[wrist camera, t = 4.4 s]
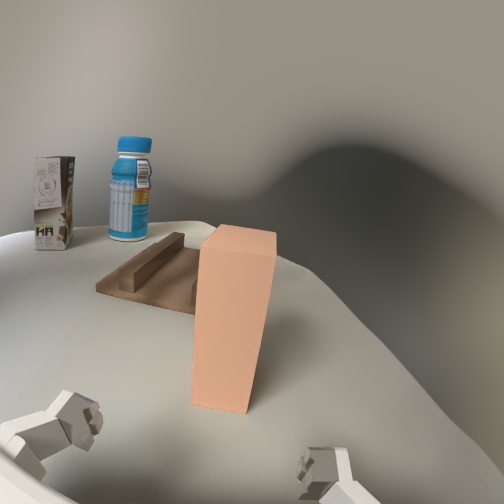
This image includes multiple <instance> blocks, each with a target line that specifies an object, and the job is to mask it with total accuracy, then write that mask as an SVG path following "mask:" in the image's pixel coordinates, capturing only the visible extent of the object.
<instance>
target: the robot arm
mask: <svg viewBox="0 0 504 504" xmlns="http://www.w3.org/2000/svg"><path fill="white" fill-rule="evenodd" d="M99 408H100V407H99V404H98V402H96V401H94V400H91V399H89V398H87V397H85V396H82V395H80V394H78V393H76V392H74V391H72V390H70V389H67V388H66V389H64V390H63V391H62V392H61V393H60V395H59V396H58V397H57V398H56V399H55V401H54V402H53V403H52V404H51V405H50V407H49V408H48V409H47V410H46V411H44V410H42V411H39V412H36V413H33V414H30V415H27V416H23V417H20V418H17V419H14V420H10V421H7V422H3V423H2V424H1V425H0V504H79V503H77V502H75V501H73V500H71V499H70V498H68V497H66V496H64V495H62V494H61V493H59V492H57V491H56V490H54V489H52V488H51V487H49V486H47V485H46V484H44V483H43V482H41V481H42V479H43V477H44V476H45V474H46V469H45V467H44V466H43V465H42V464H41V462H40V461H41V460H43V459H45V458H47V457H49V456H51V455H53V454H55V453H57V452H59V451H61V450H63V449H65V448H67V447H68V446H70V445H71V444H72V445H74V446H76V447H79V448H81V449H83V450H85V451H87V452H88V451H89V449H90V447H91V446H92V444H93V442H94V437H93V436H94V435H97V434H99V432H100V430H101V429H102V425H103V416H102V414H101V413H100V412H99V411H98V409H99ZM297 478H298V479H299V480H300V481H301V482H300V483H299V485H298V486H297V493H298V500H319V502H320V504H381V503H380V502H379V501H378V500H377V499H375V498H374V497H373V496H372V495H371V494H370V493H369V492H368V491H367V490H366V489H365V488H364V487H363V486H362V485H361V484H360V483H359V482H358V481H353V477H352V471H351V466H350V461H349V456H348V450H347V449H346V448H345V447H340V448H332V447H308V448H306V450H305V451H304V456H303V457H301V459H300V461H299V464H298V468H297Z"/></svg>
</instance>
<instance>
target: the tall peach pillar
mask: <svg viewBox="0 0 504 504" xmlns="http://www.w3.org/2000/svg"><path fill="white" fill-rule="evenodd" d="M276 253H277V252H276V233H275V232H269V231H263V230H256V229H250V228H243V227H236V226H230V225H224V224H221V225H220V226H219V227H218V228H217V229H216V230H215V231H214V232H213V233H212V234H211V235H210V236H209V237H208V238H207V239H206V241H205V242H204V243H203V244H202V245H201V247H200V258H199V269H198V282H197V296H196V311H195V328H194V348H193V374H192V404H194V405H198V406H203V407H208V408H213V409H218V410H224V411H229V412H235V413H242V414H246V412H247V408H248V403H249V398H250V394H251V389H252V384H253V379H254V374H255V369H256V364H257V359H258V355H259V349H260V344H261V339H262V334H263V329H264V324H265V319H266V313H267V308H268V303H269V297H270V292H271V286H272V281H273V275H274V270H275V264H276V259H277V254H276Z"/></svg>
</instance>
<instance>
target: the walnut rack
mask: <svg viewBox="0 0 504 504" xmlns="http://www.w3.org/2000/svg"><path fill="white" fill-rule="evenodd" d="M184 236H185V234H184V233H177V232H173V233H172V234H170V235H169V236H167V237H166V238H164V239H163V240H161V241H160V242H158V243H154V244H153V245H151V246H150V247H148V248H147V249H145V250H144V251H142V252H141V253H139V254H138V255H136V256H135V257H133V258H132V259H130V260H129V261H128V262H126V263H125V264H123V265H122V266H120V267H119V268H118V269H116V270H115V271H113V272H112V273H110V274H109V275H108V276H106V277H105V278H103V279H102V280H101V281H99V282H98V283H97V284H96V292H100V293H104V294H108V295H112V296H116V297H119V298H123V299H127V300H132V301H136V302H140V303H144V304H149V305H153V306H157V307H162V308H166V309H171V310H176V311H181V312H185V313H190V314H195V311H196V296H197V282H198V269H199V258H200V250H197V249H191V248H185V247H184Z"/></svg>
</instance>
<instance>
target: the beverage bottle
mask: <svg viewBox="0 0 504 504" xmlns="http://www.w3.org/2000/svg"><path fill="white" fill-rule="evenodd" d="M151 143H152V139H151V138H146V137H132V136H131V137H130V136H124V137H120V138H119V141H118V149H117V151H118V153H121V154H120V157H119V158H118V159H117V161H116V162H115V164H114V166H113V169H112V175H113V178H112V180H111V182H110V212H109V213H110V214H109V236H110V237H111V238H112V239H114V240H118V241H127V242H129V241H139V240H142V239H144V238H145V237H146V236H147V222H148V221H147V220H148V208H149V196H150V189H151V182H150V176H151V174H152V170H151V166H150V164H149V161H148V159H147V157H146V155H149V154H150V151H151Z"/></svg>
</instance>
